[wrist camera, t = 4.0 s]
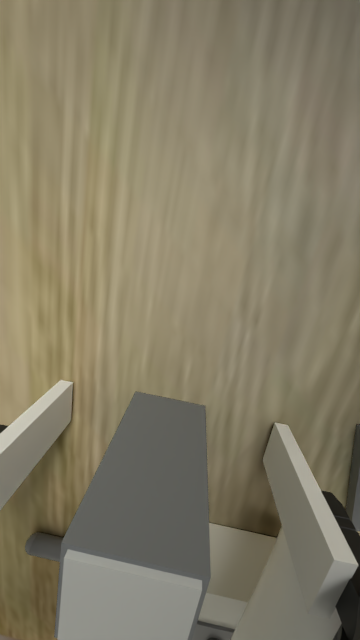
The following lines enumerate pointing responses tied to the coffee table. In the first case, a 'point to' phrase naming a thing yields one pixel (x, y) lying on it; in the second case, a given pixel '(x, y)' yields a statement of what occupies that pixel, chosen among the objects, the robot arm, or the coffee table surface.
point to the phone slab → (354, 484)
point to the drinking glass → (282, 605)
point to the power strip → (226, 575)
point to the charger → (141, 531)
